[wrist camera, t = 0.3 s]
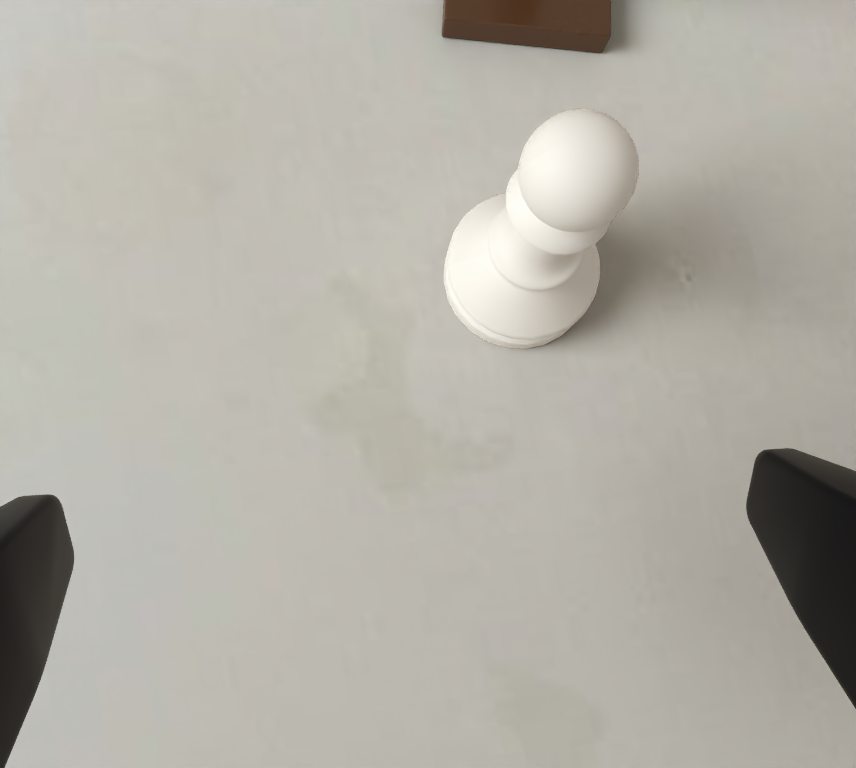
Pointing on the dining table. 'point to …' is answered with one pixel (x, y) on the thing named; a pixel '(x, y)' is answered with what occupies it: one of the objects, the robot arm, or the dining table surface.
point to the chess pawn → (542, 232)
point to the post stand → (531, 22)
